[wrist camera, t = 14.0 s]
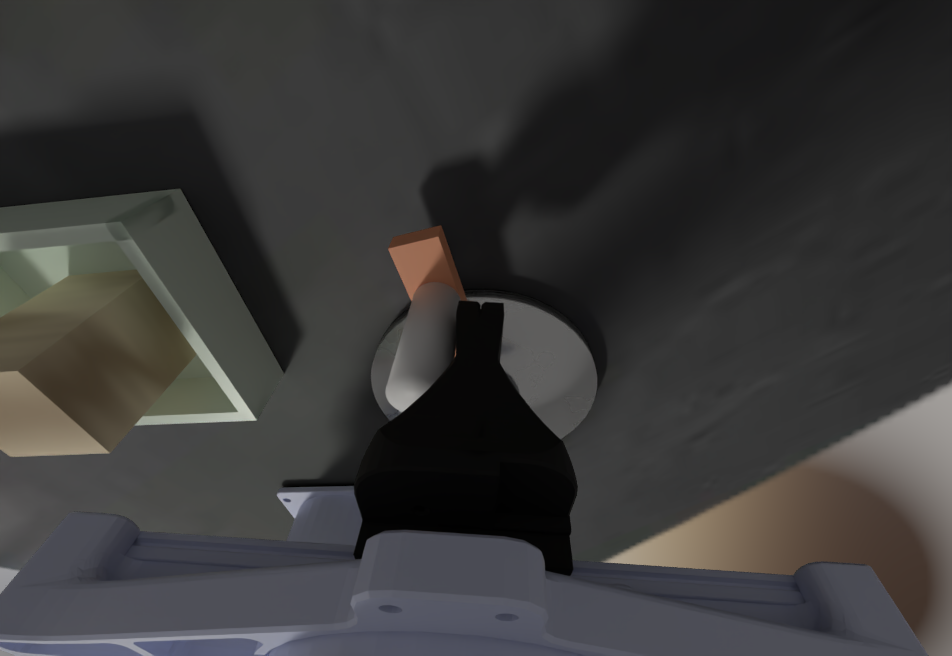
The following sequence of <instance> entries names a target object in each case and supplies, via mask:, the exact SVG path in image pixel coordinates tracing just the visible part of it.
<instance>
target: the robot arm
mask: <svg viewBox="0 0 952 656" xmlns="http://www.w3.org/2000/svg"><path fill="white" fill-rule="evenodd" d="M503 324H504V303H496V302H484V303H483V304H482V305H480V304H479V303H478V301H460V300H459V302H458V306H457V311H456V356H455V358H454V359H453V361H452V362H451V363H450V365H449V366H448V367H447V368H446V370H445V371H444V372H443V373H442V374H441V376H440V377H439V378H438V379H437V380H436V381H435V382H434V383H433V384H432V385H431V387H430V388H429V389H428V390H427V391H426V392H425V393H424V394H423V395H421V396H420V397H419V398H418V399H417V400H416V401H415V402H414V403H412V404H411V405H410V406H409V407H408V408H407V409H406V410H404V411H403V412H402V413H401V414H399V415H398V416H397V417H395V418H394V419H393V420H391V421H390V422H388V423H387V424H386V425H384V426H383V427H382V428H380V429H379V430H378V431H377V432H376V434H375V436H374V438H373V439H372V441H371V443H370V445H369V447H368V449H367V451H366V453H365V455H364V457H363V460H362V462H361V465H360V468H359V471H358V474H357V478H356V481H355V484H354V486H325V487H283V488H280V489H279V490H278V493H277V496H278V498H279V499H280V500H281V502H282V503H283V504H284V505H285V507H286V508H287V509H288V511H289V512H290V513H291V514H292V516H293V517H294V518H295V520H294V523H293V525H292V528H291V530H290V533H289V535H288V538H287V540H286V541H279V540H264V539H250V538H235V537H220V536H205V535H191V534H176V533H161V532H147V531H140V529H139V528H138V526H137V525H136V524H135V523H134V522H133V521H132V520H130V519H128V518H126V517H124V516H121V515H116V514H107V513H92V512H78V511H74V512H70V513H69V514H68V515H67V516H66V517H65V518H64V519H63V521H62V522H61V523H60V524H59V525H58V527H57V528H56V529H55V530H54V531H53V532H52V534H51V535H50V536H49V537H48V538H47V540H46V541H45V542H44V543H43V544H42V545H41V547H40V548H39V549H38V550H37V551H36V553H35V554H34V555H33V556H32V557H31V558H30V560H29V561H28V562H27V563H26V564H25V566H24V567H23V568H22V569H21V570H20V571H19V573H18V574H17V575H16V576H15V577H14V579H13V580H12V581H11V582H10V583H9V585H8V586H7V587H6V588H5V589H4V591H2V593H1V594H0V650H2V651H4V652H7V653H10V654H13V655H15V656H928V654H927V653H926V651H925V650H924V648H923V646H922V645H921V643H920V642H919V640H918V639H917V637H916V636H915V634H914V633H913V631H912V630H911V628H910V626H909V625H908V623H907V622H906V620H905V619H904V617H903V616H902V614H901V613H900V611H899V610H898V608H897V606H896V605H895V603H894V602H893V600H892V599H891V597H890V596H889V594H888V592H887V591H886V589H885V588H884V586H883V585H882V583H881V582H880V580H879V579H878V577H877V576H876V574H875V573H874V571H873V569H872V568H871V567H870V566H868V565H865V564H852V563H838V562H813V563H808V564H806V565H804V566H802V567H800V568H799V569H798V570H797V571H796V572H795V574H794V575H778V574H765V573H751V572H750V573H749V572H736V571H721V570H706V569H692V568H677V567H662V566H648V565H647V566H646V565H633V564H618V563H603V562H589V561H574V560H572V553H571V545H570V537H569V535H570V534H571V524H570V516H569V515H570V512H571V509H572V507H573V504H574V501H575V499H576V496H577V488H578V486H577V480H576V476H575V473H574V469H573V466H572V463H571V460H570V457H569V455H568V452H567V450H566V448H565V445H564V443H563V441H562V440H561V439H560V438H558V437H557V436H556V435H555V434H554V433H553V432H552V431H551V430H550V429H549V428H548V427H547V426H546V425H545V424H544V423H543V421H542V420H541V419H540V418H539V417H538V416H537V415H536V414H535V413H534V411H533V410H532V409H531V408H530V406H529V405H528V404H527V403H526V401H525V400H524V399H523V398H522V396H521V395H520V394H519V392H518V391H517V390H516V388H515V387H514V385H513V384H512V382H511V381H510V379H509V377H508V376H507V374H506V372H505V371H504V369H503V367H502V365H501V364H500V356H501V346H502V335H503Z"/></svg>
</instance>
